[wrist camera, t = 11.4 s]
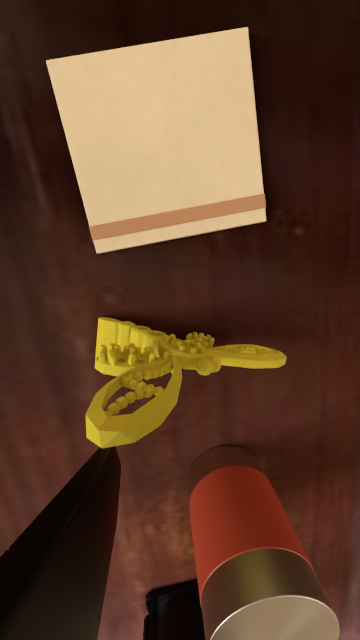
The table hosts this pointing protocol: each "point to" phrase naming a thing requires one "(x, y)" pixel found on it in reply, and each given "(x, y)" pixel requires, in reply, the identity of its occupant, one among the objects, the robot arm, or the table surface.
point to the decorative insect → (154, 375)
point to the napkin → (163, 138)
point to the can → (251, 556)
